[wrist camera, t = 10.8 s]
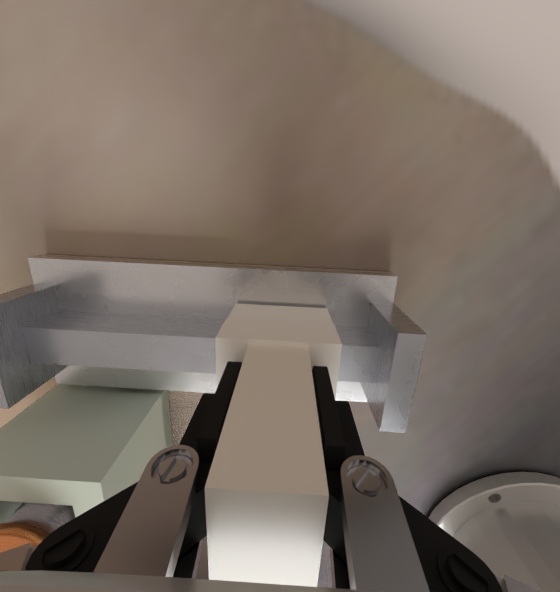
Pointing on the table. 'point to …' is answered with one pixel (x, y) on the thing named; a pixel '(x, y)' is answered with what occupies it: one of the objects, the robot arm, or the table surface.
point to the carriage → (271, 447)
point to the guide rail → (195, 326)
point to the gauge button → (33, 524)
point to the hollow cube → (80, 445)
